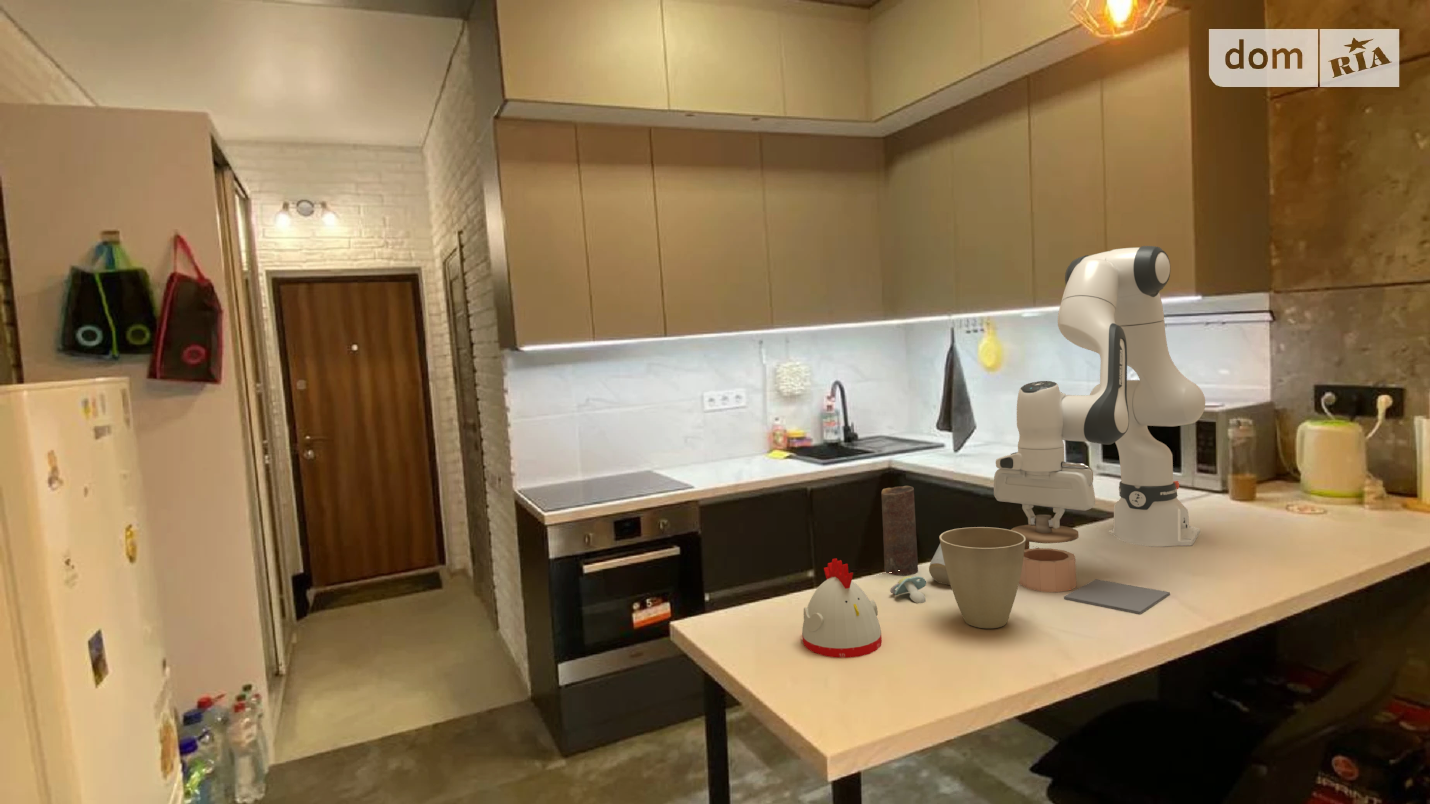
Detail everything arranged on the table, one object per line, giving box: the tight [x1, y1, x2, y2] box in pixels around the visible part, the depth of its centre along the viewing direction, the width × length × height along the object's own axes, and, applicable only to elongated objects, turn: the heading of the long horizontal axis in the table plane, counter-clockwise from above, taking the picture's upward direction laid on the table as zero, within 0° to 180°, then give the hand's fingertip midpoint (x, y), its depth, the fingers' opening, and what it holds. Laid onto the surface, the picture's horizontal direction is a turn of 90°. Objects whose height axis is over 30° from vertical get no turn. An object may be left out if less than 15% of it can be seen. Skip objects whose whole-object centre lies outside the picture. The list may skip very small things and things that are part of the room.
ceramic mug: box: [928, 543, 951, 586], centre depth 163 cm, size 11×8×8 cm
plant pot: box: [938, 526, 1026, 629], centre depth 141 cm, size 15×15×16 cm
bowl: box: [1019, 547, 1077, 593], centre depth 161 cm, size 11×11×6 cm
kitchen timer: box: [801, 558, 883, 659], centre depth 137 cm, size 14×14×15 cm
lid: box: [1010, 514, 1080, 544], centre depth 160 cm, size 13×13×5 cm
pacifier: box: [889, 575, 927, 604], centre depth 156 cm, size 7×6×6 cm
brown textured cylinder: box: [881, 485, 919, 577], centre depth 172 cm, size 8×7×20 cm
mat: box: [1063, 578, 1171, 615], centre depth 150 cm, size 14×14×1 cm
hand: (1043, 526), depth 160 cm, fingers closed on lid, 3 cm apart
